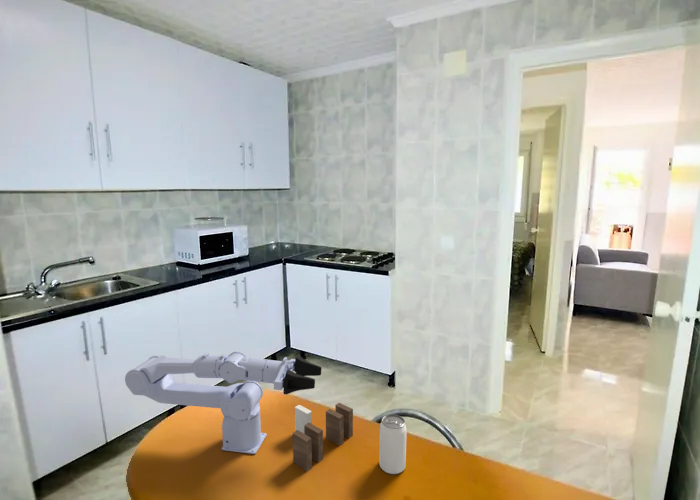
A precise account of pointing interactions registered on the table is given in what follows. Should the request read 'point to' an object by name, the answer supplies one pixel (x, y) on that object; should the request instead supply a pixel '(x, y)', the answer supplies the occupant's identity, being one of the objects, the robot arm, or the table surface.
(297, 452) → the domino
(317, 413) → the table surface
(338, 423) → the domino
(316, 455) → the domino
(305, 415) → the domino
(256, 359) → the robot arm
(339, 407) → the domino
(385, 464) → the can
